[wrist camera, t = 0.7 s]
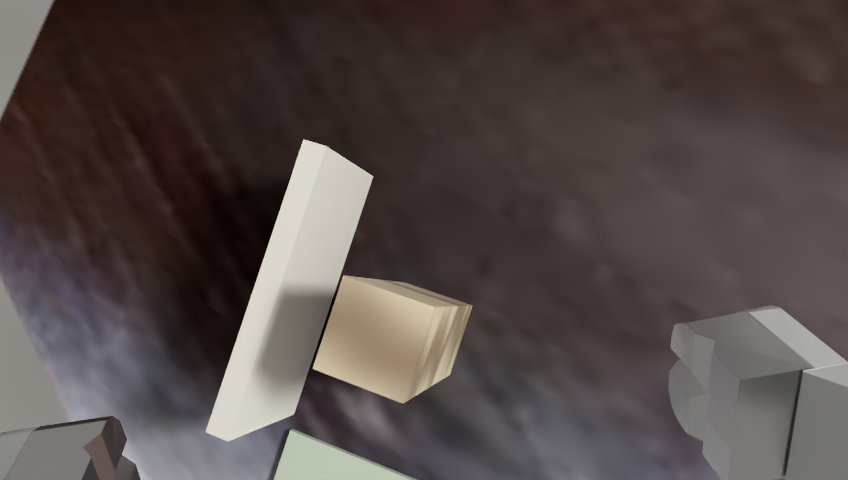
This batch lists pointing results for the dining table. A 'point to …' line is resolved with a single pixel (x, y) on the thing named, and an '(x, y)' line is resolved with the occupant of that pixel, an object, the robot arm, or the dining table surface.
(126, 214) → the dining table surface
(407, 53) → the dining table surface
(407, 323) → the marked block
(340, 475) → the pad
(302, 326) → the upright white panel
